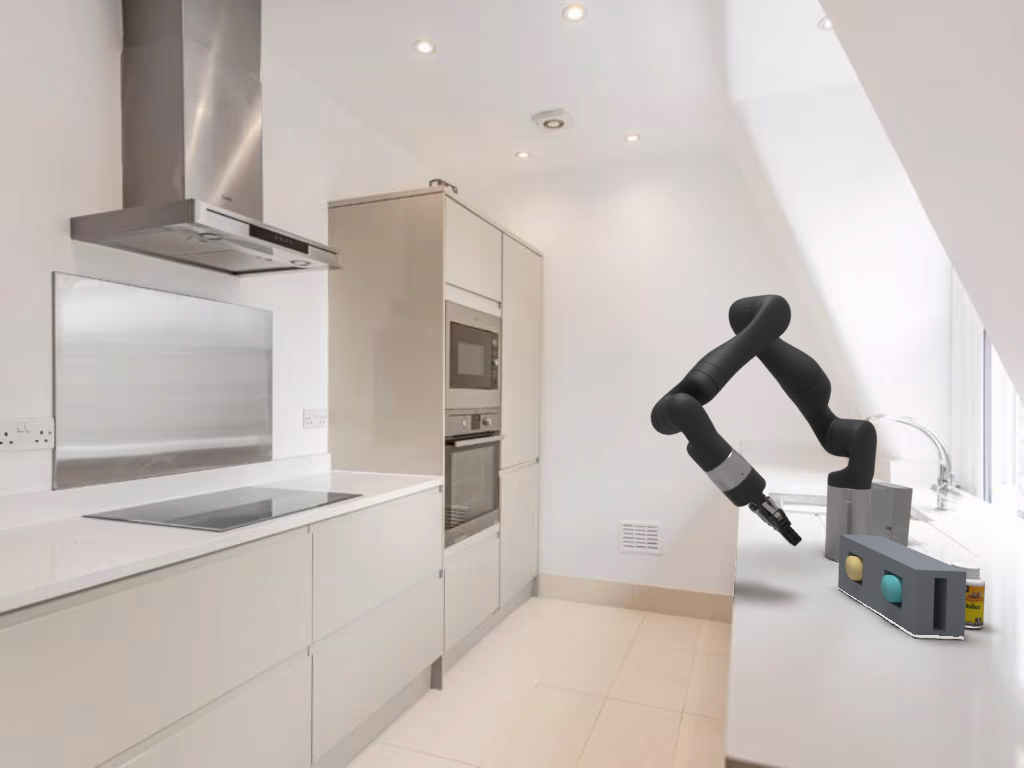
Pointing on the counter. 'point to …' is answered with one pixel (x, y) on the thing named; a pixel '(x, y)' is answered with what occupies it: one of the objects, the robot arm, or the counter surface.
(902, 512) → the skincare box
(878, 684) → the counter surface
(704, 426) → the robot arm
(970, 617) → the supplement bottle
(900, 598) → the teal button
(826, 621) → the counter surface
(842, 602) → the counter surface
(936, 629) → the console
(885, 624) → the counter surface
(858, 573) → the mustard button
